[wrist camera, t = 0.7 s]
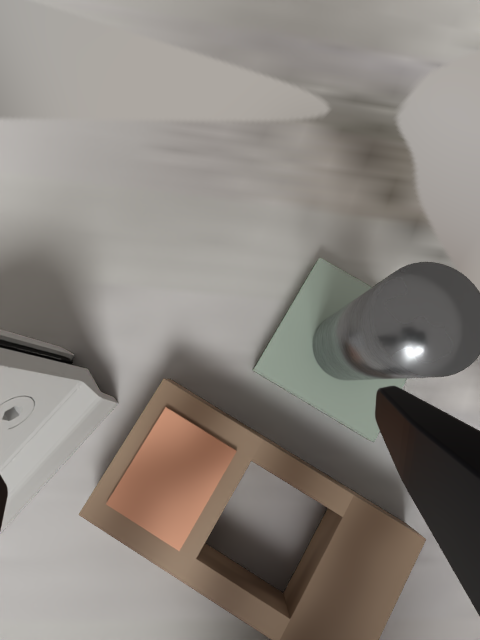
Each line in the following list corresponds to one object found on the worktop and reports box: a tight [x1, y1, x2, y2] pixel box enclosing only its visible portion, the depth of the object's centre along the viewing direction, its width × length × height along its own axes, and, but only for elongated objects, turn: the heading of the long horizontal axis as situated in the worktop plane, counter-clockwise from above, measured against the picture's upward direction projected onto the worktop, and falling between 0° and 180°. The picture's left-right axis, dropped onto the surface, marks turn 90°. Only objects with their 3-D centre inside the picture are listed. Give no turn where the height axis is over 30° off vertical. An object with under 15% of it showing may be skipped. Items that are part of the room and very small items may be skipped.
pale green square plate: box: [253, 258, 407, 442], centre depth 24 cm, size 8×8×1 cm
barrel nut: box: [312, 262, 480, 381], centre depth 18 cm, size 4×4×10 cm
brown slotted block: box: [79, 379, 426, 640], centre depth 21 cm, size 16×8×3 cm, turn 59°
